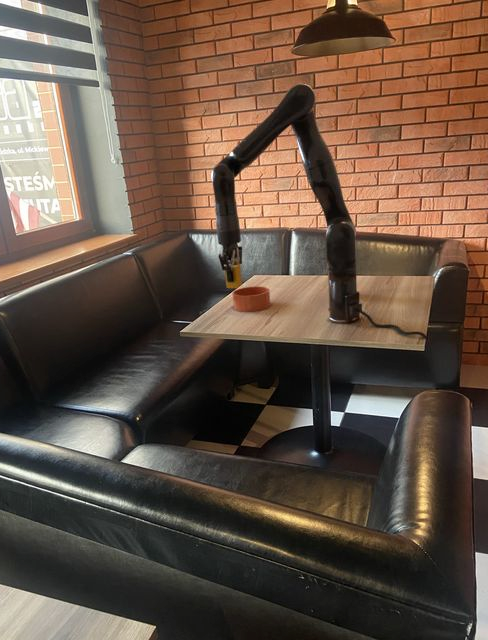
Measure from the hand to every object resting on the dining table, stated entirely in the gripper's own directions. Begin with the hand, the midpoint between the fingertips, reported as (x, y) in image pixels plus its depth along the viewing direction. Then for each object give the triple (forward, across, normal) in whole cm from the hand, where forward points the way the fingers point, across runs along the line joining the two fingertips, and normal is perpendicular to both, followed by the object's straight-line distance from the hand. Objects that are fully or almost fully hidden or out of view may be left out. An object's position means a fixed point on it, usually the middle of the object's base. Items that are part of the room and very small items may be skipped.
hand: (233, 279), depth 179 cm
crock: (+17, +25, +6) cm, 31 cm away
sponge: (+2, 0, 0) cm, 2 cm away
